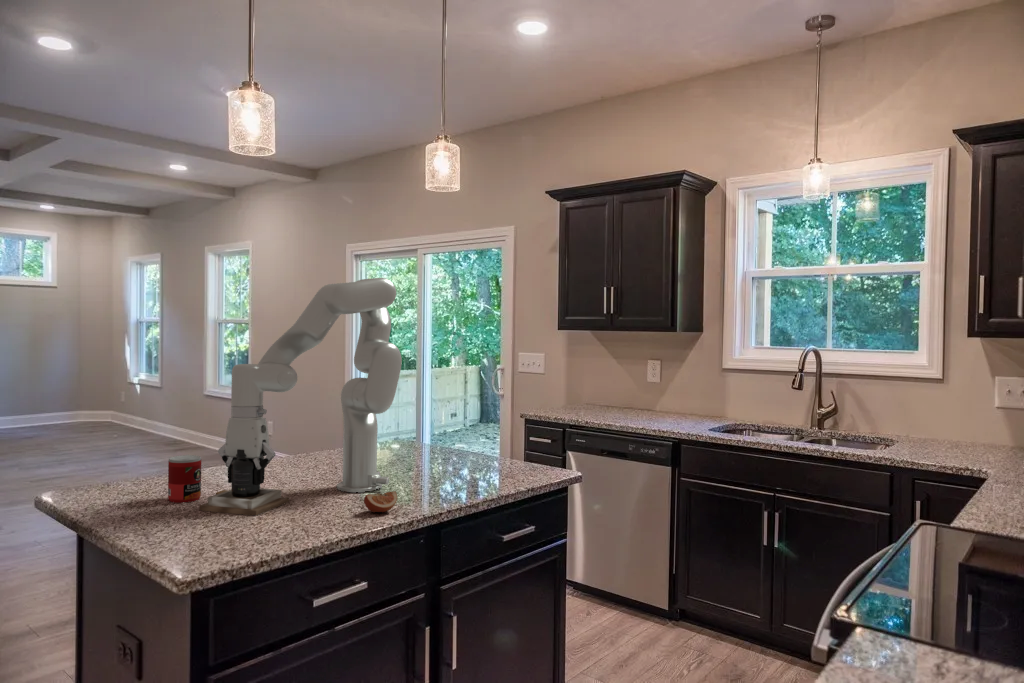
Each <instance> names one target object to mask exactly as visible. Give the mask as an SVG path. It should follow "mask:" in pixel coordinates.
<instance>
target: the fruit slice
mask: <svg viewBox="0 0 1024 683" xmlns="http://www.w3.org/2000/svg"><path fill="white" fill-rule="evenodd" d="M397 502H398V494H397V491H396V490H394V491H388V492H387V491H386V492H384V493H379V492H378V493H370V494H369V493H368V494H365V496H364V499H363V504H364V506H365V507H366V509H368V510H369V511H370V512H372V513H375V512H382V513H385V512H387V511H390V510H391V509H392V508H394V507H395V505H396V504H397Z"/></svg>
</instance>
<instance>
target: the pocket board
mask: <svg viewBox="0 0 1024 683" xmlns="http://www.w3.org/2000/svg"><path fill="white" fill-rule="evenodd" d="M287 502H288V503H289V502H290V497H289V496H282V489H274V488H263V487H260V493H259V494H258V495H257V496H253V497H247V498H237V497H233V496H232V490H231V489H228V490H227V489H223V490H220V491H216V492H215V494H214V495H211V496H208V497H207V502H206V503H204V504H200V505H198V506H199V508H198V511H200V510H202V511H203V512H210V511H211V512H212V513H224V514H232V515H242V514H243V515H242V516H245V515H246V516H253V515H257V516H259V515H262V514H264V513H266V511H267V512H269V511H271V510H273V508H274V509H276V508H278V507H280V505H281V506H283V505H285V504H284V503H286V504H287ZM282 504H283V505H282ZM275 507H276V508H275ZM268 510H269V511H268ZM202 511H201V512H202ZM263 512H264V513H263ZM261 513H262V514H261ZM258 514H259V515H258Z"/></svg>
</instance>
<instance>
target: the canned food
mask: <svg viewBox="0 0 1024 683" xmlns="http://www.w3.org/2000/svg"><path fill="white" fill-rule="evenodd" d="M167 464H168V466H167V467H168V471H167V474H168V477H167V478H168V480H167V499H168V501H169V502H170V503H173V502H174V504H175V503H176V504H183V502H187V503H191V502H192V501H193V502H196V500H197V501H199V500H200V499H201V496H202V456H200V455H196V454H195V455H194V454H191V455H190V454H186V455H176V456H172V457H169V458H168V463H167ZM198 499H199V500H198ZM193 502H192V503H193Z"/></svg>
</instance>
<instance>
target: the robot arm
mask: <svg viewBox="0 0 1024 683" xmlns="http://www.w3.org/2000/svg"><path fill="white" fill-rule="evenodd" d="M396 298H397V289H396V286H395V284H394V283H393V282H392V281H391V280H390V279H389V278H388V279H387V278H385V277H374V278H362V279H358V280H357V281H353V282H352V281H351V282H340V283H329V284H325V285H324V286H322V287H320V288H319V289H318V291H317V292H316V293H315V295H314V296H313V297H312V299H311V300H310V302H309V303H308V304H307V306H306V307H305V309H304V310H303V311H302V313H301V314H300V316H299V317H298V318H297V320H296V321H295V323H294V324H292V326H290V327H289V329H287V330H286V331H285V332H284V333H283V334H282V335H281V336H280V337H279V338H277V340H276V341H274V343H273V344H271V345H270V346H269V348H268V349H267V351H266V352H265V353H264V355H263V356H262V357H261V359H260V360H259V361H258V363H257V364H256V363H240V364H235V365H234V366H233V367H232V370H231V391H230V392H231V395H230V396H231V398H230V401H231V402H230V403H231V404H230V406H231V407H230V417H229V418H228V422H227V426H226V434H225V443H224V444H223V445H222V446H220V447H219V448H218V450H217V453H218V454H219V456H220V457H221V459H222V462H224V463H225V467H227V483H229V484H231V479H232V461H233V460H234V459H236V458H237V456H236V454H237V449H240V450H244V453H245V454H246V456H247V457H246V458H250V459H253V461H254V463H255V465H256V468H257V469H255V470H254V484H255V485H259V484H260V485H262V484H264V483H265V482H264V481H265V469H266V468H267V466H268V465H269V464H270V463H271V461H272V460H273V459H274V458H275V456H277V455H276V454H277V453H276V452H275V451H274V450H273V449H272V448H271V447H270V436H269V426H268V423H267V422H268V421H267V419H266V417H264V415H266V414H267V409H265V408H264V392H271V393H285V392H288V391H291V390H293V388H294V387H295V386H296V385H297V381H298V374H297V371H296V369H294V367H293V366H291V364H292V363H293V362H294V361H295V360H296V359H297V358H298V357H299V356H301V355H302V354H304V353H305V352H307V351H310V350H312V349H314V348H315V347H317V346H318V345H320V344H321V343H322V341H324V339H325V337H326V336H327V334H329V331H330V330H331V328H332V327H334V324H335V322H336V321H337V320H338V319H339V317H340V316H341V315H350V314H351V315H352V314H353V315H354V314H359V315H360V319H361V324H360V331H359V336H358V340H357V344H356V349H355V352H354V355H353V357H354V358H353V363H354V366H355V368H356V369H357V370H358V371H359V372H361V373H364V374H367V377H354V378H351V379H350V380H347V381H346V382H345V383H344V385H343V387H342V388H341V393H340V400H341V401H340V402H341V410H342V418H343V421H342V422H343V437H342V438H343V439H342V452H343V453H342V481H340V482H338V483H337V484H336V489H337V490H338V491H340V490H341V492H344V491H347V492H346V493H356V492H358V493H366V492H365V491H370V492H373V491H372V490H375V491H377V490H376V489H378V490H380V489H382V488H383V485H389V482H390V479H389V476H385V475H384V476H382V475H381V471H379V470H377V469H378V465H377V464H378V430H379V429H378V420H377V415H378V414H379V415H380V414H383V413H385V412H387V411H388V410H389V409H390V407H392V405H393V402H394V401H395V396H396V391H397V389H398V388H397V387H398V384H399V383H398V382H399V379H400V375H401V370H402V364H403V363H402V362H403V360H402V354H401V351H400V349H399V348H398V346H396V344H394V343H392V342H389V341H390V337H391V336H390V335H391V331H392V319H391V315H390V313H389V312H390V311H389V310H388V308H387V307H389V306H391V305H393V303H394V302H395V300H396ZM379 488H380V489H379Z"/></svg>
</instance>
